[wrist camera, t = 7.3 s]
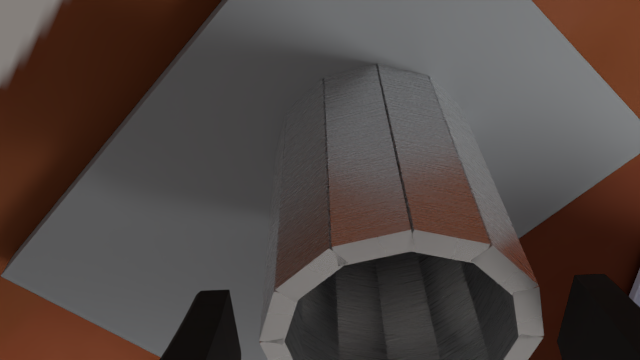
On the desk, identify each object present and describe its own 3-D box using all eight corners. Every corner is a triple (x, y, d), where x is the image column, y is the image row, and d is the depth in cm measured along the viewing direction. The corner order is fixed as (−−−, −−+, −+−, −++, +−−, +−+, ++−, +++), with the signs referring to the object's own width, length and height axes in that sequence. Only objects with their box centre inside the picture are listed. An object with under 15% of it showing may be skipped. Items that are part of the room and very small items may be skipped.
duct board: (643, 123, 19) (714, 201, 15) (272, 392, 26) (266, 483, 23) (368, -179, 14) (386, -159, 11) (12, 256, 21) (-42, 346, 18)
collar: (504, 151, 18) (595, 335, 12) (367, 252, 20) (390, 448, 14) (378, 25, 16) (418, 180, 10) (239, 155, 18) (206, 342, 12)
